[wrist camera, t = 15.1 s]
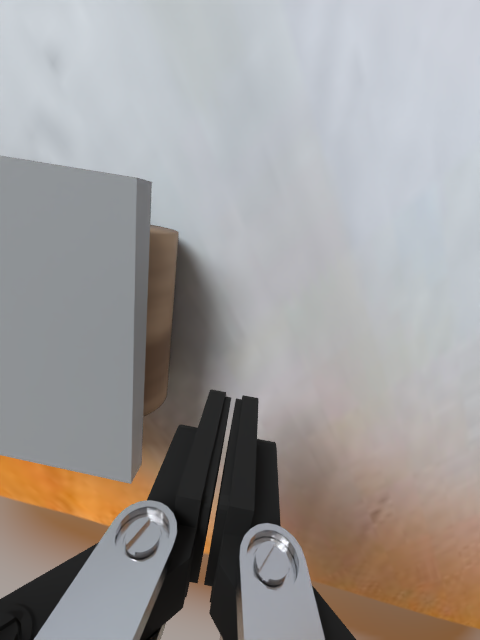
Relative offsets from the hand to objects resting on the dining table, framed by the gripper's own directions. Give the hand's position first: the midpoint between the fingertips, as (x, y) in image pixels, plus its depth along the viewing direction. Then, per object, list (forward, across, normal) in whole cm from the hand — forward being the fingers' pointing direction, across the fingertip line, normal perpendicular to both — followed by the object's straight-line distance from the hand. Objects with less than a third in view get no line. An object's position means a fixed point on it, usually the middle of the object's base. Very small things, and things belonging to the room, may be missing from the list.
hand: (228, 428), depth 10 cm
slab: (+3, +10, -1) cm, 11 cm away
